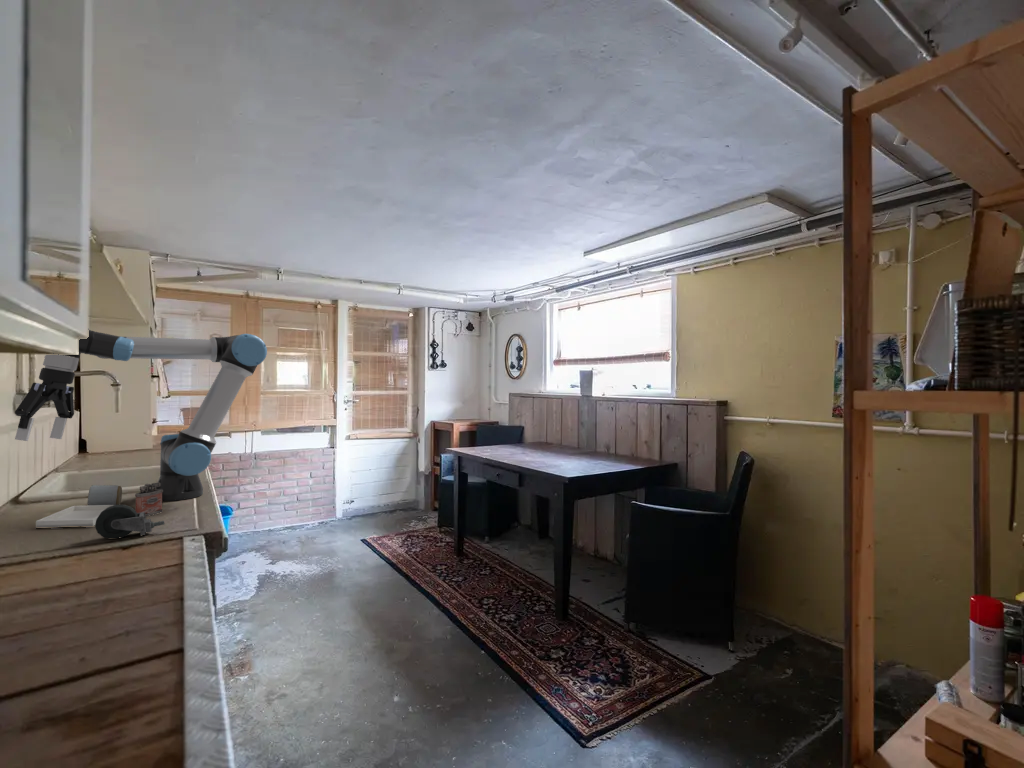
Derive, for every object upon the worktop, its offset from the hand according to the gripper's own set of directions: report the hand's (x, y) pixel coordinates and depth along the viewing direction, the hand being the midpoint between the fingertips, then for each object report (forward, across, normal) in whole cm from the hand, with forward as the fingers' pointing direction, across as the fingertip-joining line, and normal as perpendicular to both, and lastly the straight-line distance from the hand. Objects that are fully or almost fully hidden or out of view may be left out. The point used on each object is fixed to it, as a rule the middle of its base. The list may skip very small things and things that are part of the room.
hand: (39, 439), depth 142 cm
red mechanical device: (+20, -10, +29) cm, 37 cm away
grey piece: (+22, -21, +11) cm, 32 cm away
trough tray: (+23, -5, +14) cm, 27 cm away
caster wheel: (+22, +11, +35) cm, 42 cm away
